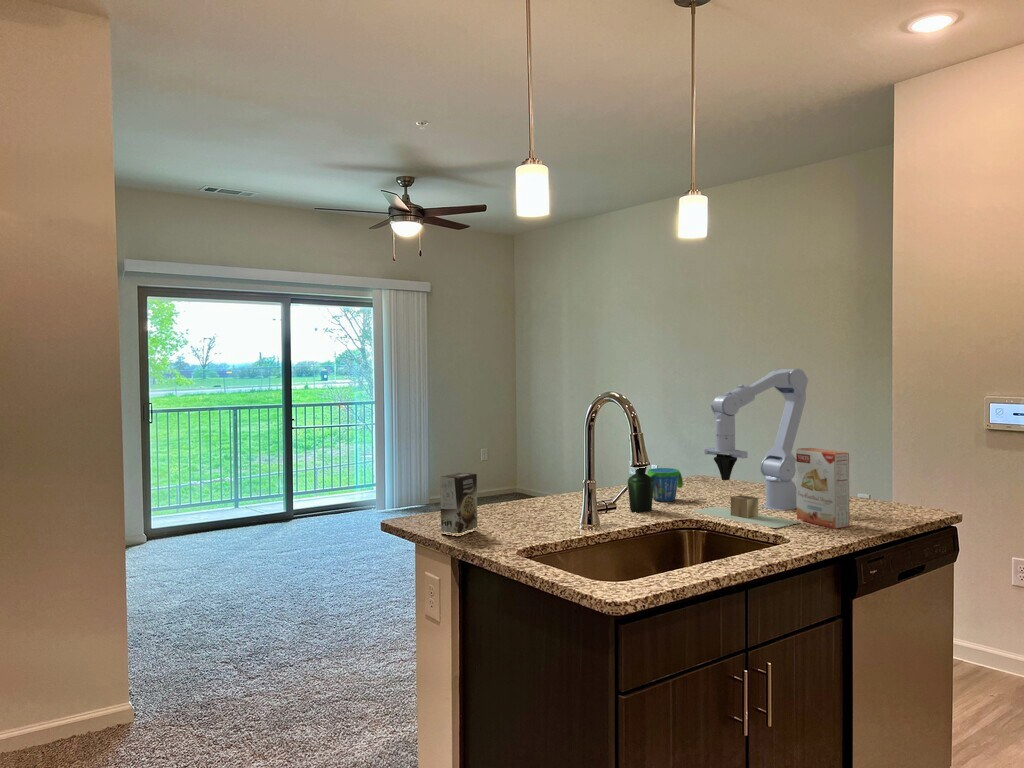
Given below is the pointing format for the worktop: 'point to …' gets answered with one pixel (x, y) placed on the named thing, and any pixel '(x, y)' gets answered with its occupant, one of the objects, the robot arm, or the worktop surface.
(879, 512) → the worktop surface
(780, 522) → the pale green mat
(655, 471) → the snack cup
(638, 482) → the potion bottle
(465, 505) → the coffee box
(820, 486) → the cracker box
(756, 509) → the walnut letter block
